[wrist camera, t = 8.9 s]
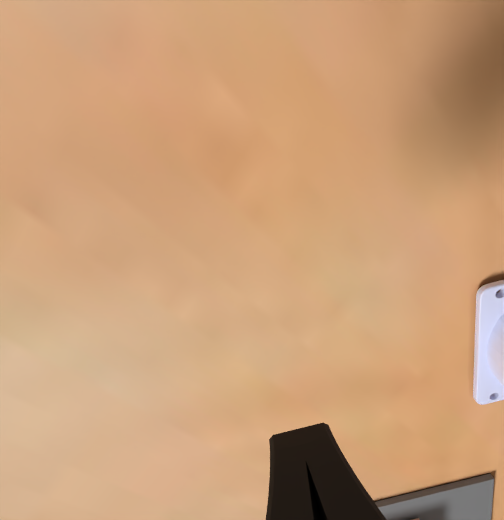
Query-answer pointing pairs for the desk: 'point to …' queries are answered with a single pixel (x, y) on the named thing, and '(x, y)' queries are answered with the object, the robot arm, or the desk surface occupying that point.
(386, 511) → the mat
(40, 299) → the desk surface
